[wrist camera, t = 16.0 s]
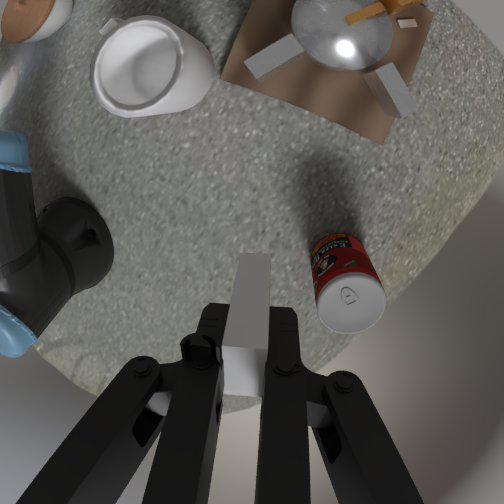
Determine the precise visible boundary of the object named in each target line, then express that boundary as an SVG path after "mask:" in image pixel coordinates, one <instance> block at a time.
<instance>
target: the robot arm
mask: <svg viewBox="0 0 504 504" xmlns="http://www.w3.org/2000/svg"><path fill="white" fill-rule="evenodd" d="M31 172H32V167H31V166H30V159H29V149H28V141H27V139H26V137H25V135H24V134H23V133H21V132H19V131H14V130H10V131H0V353H1V354H3V355H5V356H8V357H19V356H20V355H22V354H23V353H24V352H25V351H26V350H27V349H28V348H29V347H30V346H31V345H32V343H35V342H36V341H37V339H38V337H39V336H40V335H41V334H42V332H43V331H44V330H45V328H46V327H47V326H48V325H49V323H50V322H51V321H52V320H53V318H54V317H55V316H56V315H57V314H58V312H59V311H60V310H61V309H62V307H63V306H64V305H65V304H66V303H67V302H68V300H69V299H70V298H71V297H72V296H73V295H75V294H77V293H79V292H81V291H83V290H85V289H88V288H91V287H93V286H95V285H97V284H98V283H99V282H100V281H101V280H102V279H103V278H104V277H105V276H106V275H107V274H108V272H109V271H110V269H111V266H112V263H113V257H114V249H113V243H112V239H111V235H110V233H109V230H108V228H107V226H106V224H105V223H104V221H103V220H102V218H101V217H100V216H99V214H98V213H97V212H96V211H95V210H94V209H93V208H92V207H91V206H89V205H88V204H86V203H85V202H83V201H81V200H79V199H76V198H71V197H64V198H60V199H57V200H55V201H54V202H52V203H50V204H48V205H47V206H46V207H45V208H44V209H43V210H42V211H41V212H40V214H39V215H38V217H37V218H36V213H35V206H34V198H33V190H32V179H31ZM270 265H271V254H255V253H241V254H240V259H239V264H238V269H237V273H236V278H235V283H234V288H233V293H232V298H231V303H230V304H220V303H209V304H208V305H207V306H206V307H205V308H204V309H203V311H202V314H201V318H200V321H199V324H198V327H197V331H196V333H192V334H189V335H187V336H186V337H184V338H183V340H182V341H181V343H180V346H181V352H182V358H183V359H182V360H180V361H177V362H174V363H167V364H159V363H158V362H157V360H155V359H154V358H152V357H148V356H138V357H135V358H133V359H131V360H130V361H128V362H127V363H126V364H125V366H124V367H123V368H122V369H121V370H120V372H119V373H118V374H117V375H116V376H115V378H114V379H113V380H112V381H111V383H110V384H109V385H108V386H107V387H106V389H105V390H104V391H103V392H102V394H101V395H100V396H99V397H98V399H97V400H96V401H95V402H94V404H93V405H92V406H91V407H90V408H89V410H88V411H87V412H86V413H85V415H84V416H83V417H82V419H81V420H80V421H79V422H78V423H77V425H76V426H75V427H74V428H73V430H72V431H71V432H70V433H69V435H68V436H67V437H66V438H65V440H64V441H63V442H62V444H61V445H60V446H59V447H58V449H57V450H56V452H54V454H53V455H52V456H51V458H50V459H49V460H48V461H47V463H46V464H45V465H44V467H43V468H42V469H41V471H40V472H39V473H38V475H37V476H36V477H35V478H34V480H33V481H32V483H31V484H30V485H29V486H28V488H27V489H26V490H25V492H24V493H23V494H22V496H21V497H20V499H19V500H18V501H17V502H16V504H115V503H116V502H117V500H118V499H119V497H120V495H121V494H122V492H123V490H124V489H125V488H126V486H127V484H128V483H129V481H130V479H131V478H132V476H133V475H134V473H135V472H136V470H137V468H138V467H139V465H140V464H141V462H142V461H143V459H144V457H145V456H146V454H147V453H148V451H149V449H150V448H151V446H152V445H153V443H154V441H155V440H156V438H157V437H158V435H159V433H160V432H161V435H160V438H159V442H158V445H157V449H156V452H155V456H154V460H153V464H152V467H151V471H150V474H149V478H148V482H147V486H146V489H145V493H144V497H143V501H142V504H208V497H209V489H210V483H211V477H212V471H213V464H214V458H215V451H216V444H217V438H218V432H219V426H220V419H221V413H222V407H223V404H222V397H223V391H224V394H230V395H241V396H255V397H262V404H261V413H260V434H259V448H258V462H257V476H256V489H255V503H254V504H311V501H310V499H311V498H310V463H309V440H308V426H311V428H312V430H313V433H314V436H315V439H316V441H317V444H318V447H319V450H320V452H321V455H322V458H323V461H324V464H325V467H326V469H327V472H328V475H329V477H330V480H331V483H332V486H333V489H334V491H335V494H336V497H337V500H338V502H339V504H424V503H423V501H422V499H421V497H420V495H419V492H418V490H417V488H416V486H415V484H414V482H413V480H412V478H411V476H410V474H409V472H408V470H407V468H406V466H405V464H404V462H403V460H402V458H401V456H400V454H399V452H398V450H397V448H396V446H395V444H394V442H393V440H392V438H391V436H390V435H389V432H388V430H387V429H386V427H385V425H384V423H383V421H382V419H381V417H380V415H379V413H378V411H377V409H376V407H375V406H374V404H373V402H372V400H371V398H370V396H369V394H368V392H367V391H366V389H365V387H364V385H363V383H362V381H361V380H360V379H359V377H357V376H356V375H355V374H353V373H351V372H348V371H336V372H333V373H331V374H330V375H329V376H328V377H327V376H324V375H320V374H317V373H314V372H312V371H310V370H308V369H307V368H306V367H305V366H304V365H303V363H302V361H301V357H300V344H299V333H298V319H297V314H296V313H295V311H294V310H293V309H292V308H290V307H272V306H269V302H270ZM161 430H162V431H161Z"/></svg>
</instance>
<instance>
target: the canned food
mask: <svg viewBox="0 0 504 504" xmlns="http://www.w3.org/2000/svg"><path fill="white" fill-rule="evenodd" d="M311 269H312V276H313V284H314V292H315V301H316V307H317V312H318V315H319V318H320V320H321V321H322V323H323V324H324V325H325V326H326V327H327V328H329V329H330V330H332V331H334V332H337V333H342V334H353V333H358V332H361V331H364V330H366V329H368V328H370V327H371V326H373V325H374V324H375V323H376V322H377V321H378V320H379V319H380V317H381V316H382V314H383V312H384V310H385V305H386V296H385V292H384V289H383V287H382V284H381V282H380V280H379V277H378V275H377V273H376V271H375V269H374V267H373V265H372V263H371V261H370V259H369V257H368V255H367V253H366V251H365V249H364V247H363V246H362V244H361V243H360V242H359V241H358V240H357V239H355V238H354V237H352V236H350V235H347V234H343V233H336V234H331V235H328V236H326V237H324V238H323V239H321V240H320V241H319V242H318V244H317V245H316V246H315V248H314V250H313V252H312V256H311Z"/></svg>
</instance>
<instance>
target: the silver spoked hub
mask: <svg viewBox="0 0 504 504" xmlns="http://www.w3.org/2000/svg"><path fill="white" fill-rule="evenodd" d="M424 1H426V0H296V2H295V4H294V7H293V10H292V18H291V30H292V33H291V34H289V35H287V36H285V37H284V38H282V39H280V40H278V41H277V42H275V43H273V44H271V45H270V46H268V47H266V48H265V49H263V50H261V51H260V52H258V53H257V54H255V55H253V56H252V57H250V58H249V59H247V60H245V61H244V63H245V65H246V66H247V67H248V69H249V70H250V71H251V72H252V74H253V75H254V76H255V78H256V79H257V80H258V81H259V82H260V83H262V82H264V81H265V80H267V79H268V78H270V77H272V76H273V75H275V74H277V73H278V72H280V71H282V70H283V69H285V68H287V67H288V66H290V65H292V64H293V63H295V62H297V61H299V60H300V59H302V56H303V54H305V55H306V56H307V57H308V58H309V59H310V60H312V61H313V62H315V63H316V64H318V65H320V66H322V67H324V68H327V69H330V70H334V71H340V72H352V71H357V70H361V69H364V68H366V67H368V66H371V65H373V64H375V63H376V62H378V61H379V60H381V59H382V58H383V57H384V56H385V54H386V53H387V51H388V50H389V48H390V45H391V42H392V36H393V30H392V24H391V20H390V17H389V16H391V15H394V14H396V13H399V12H402V11H404V10H407V9H409V8H412V7H415V6H418V5H419V4H421V3H423V2H424ZM362 77H363V78H364V80H365V81H366V83H367V85H368V86H369V88H370V90H371V91H372V93H373V95H374V96H375V98H376V100H377V101H378V103H379V105H380V107H381V108H382V110H383V112H384V114H385V115H386V116H391V117H397V118H404V117H406V116H408V115H410V114H412V113H413V112H415V111H417V110H419V109H418V107H417V105H416V103H415V101H414V99H413V97H412V96H411V94H410V92H409V90H408V88H407V86H406V85H405V83H404V81H403V79H402V78H401V76H400V74H399V72H398V71H397V69H396V67H395V66H394V64H393V62H391V63H388V64H385V65H382V66H379V67H377V68H375V69H373V70H371V71H369V72H367V73H365V74H363V75H362Z"/></svg>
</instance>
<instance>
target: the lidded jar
mask: <svg viewBox="0 0 504 504" xmlns="http://www.w3.org/2000/svg"><path fill="white" fill-rule="evenodd" d="M72 9H73V0H9V1H8V3H7V5H6V7H5V10H4V13H3V16H2V21H1V31H2V35H3V37H4V39H5V40H6V41H7V42H9V43H31V42H37V41H41V40H43V39H46V38H48V37H49V36H51V35H53V34H54V33H55V32H57V31H58V30H59V29H60V28H61V27H62V26H63V25H64V24H65V23H66V22H67V21H68V19H69V17H70V15H71V13H72Z"/></svg>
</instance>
